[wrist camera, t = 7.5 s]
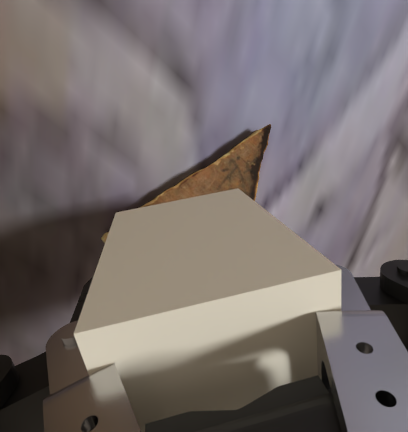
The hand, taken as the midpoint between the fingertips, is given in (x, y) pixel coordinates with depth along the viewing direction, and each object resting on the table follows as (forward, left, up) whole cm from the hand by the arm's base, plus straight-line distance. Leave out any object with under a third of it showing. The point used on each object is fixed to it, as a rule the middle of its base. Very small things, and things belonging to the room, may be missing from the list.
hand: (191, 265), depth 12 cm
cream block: (0, 0, -1) cm, 1 cm away
